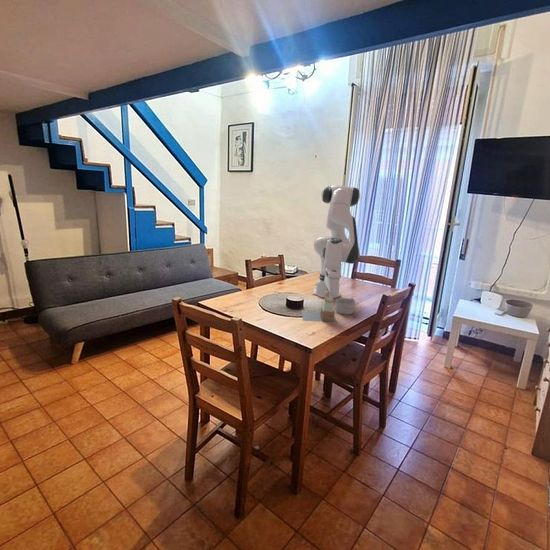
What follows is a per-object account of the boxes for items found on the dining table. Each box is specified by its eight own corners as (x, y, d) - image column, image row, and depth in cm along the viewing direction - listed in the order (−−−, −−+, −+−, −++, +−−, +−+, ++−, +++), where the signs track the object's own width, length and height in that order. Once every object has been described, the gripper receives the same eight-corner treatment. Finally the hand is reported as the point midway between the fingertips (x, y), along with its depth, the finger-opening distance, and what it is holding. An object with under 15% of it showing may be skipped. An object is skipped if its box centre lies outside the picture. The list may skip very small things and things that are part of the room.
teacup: (344, 318, 179) (346, 304, 177) (330, 312, 187) (331, 298, 185) (361, 314, 187) (363, 301, 185) (347, 308, 195) (348, 295, 193)
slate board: (300, 312, 184) (300, 310, 183) (332, 314, 184) (333, 312, 184) (302, 322, 170) (302, 320, 170) (337, 324, 170) (337, 322, 170)
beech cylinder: (324, 299, 173) (324, 290, 172) (332, 299, 174) (333, 290, 172) (325, 302, 169) (326, 292, 168) (333, 302, 169) (334, 293, 168)
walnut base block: (320, 316, 177) (321, 307, 175) (331, 317, 177) (332, 308, 176) (321, 320, 171) (322, 311, 170) (333, 321, 171) (334, 312, 170)
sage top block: (322, 308, 175) (323, 299, 174) (331, 308, 175) (332, 299, 174) (323, 311, 170) (324, 302, 169) (333, 312, 170) (334, 302, 169)
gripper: (323, 265, 177) (320, 289, 181) (328, 275, 157) (326, 302, 161) (334, 266, 177) (331, 290, 181) (342, 275, 158) (338, 302, 161)
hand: (329, 296), depth 171 cm, fingers open, 8 cm apart
